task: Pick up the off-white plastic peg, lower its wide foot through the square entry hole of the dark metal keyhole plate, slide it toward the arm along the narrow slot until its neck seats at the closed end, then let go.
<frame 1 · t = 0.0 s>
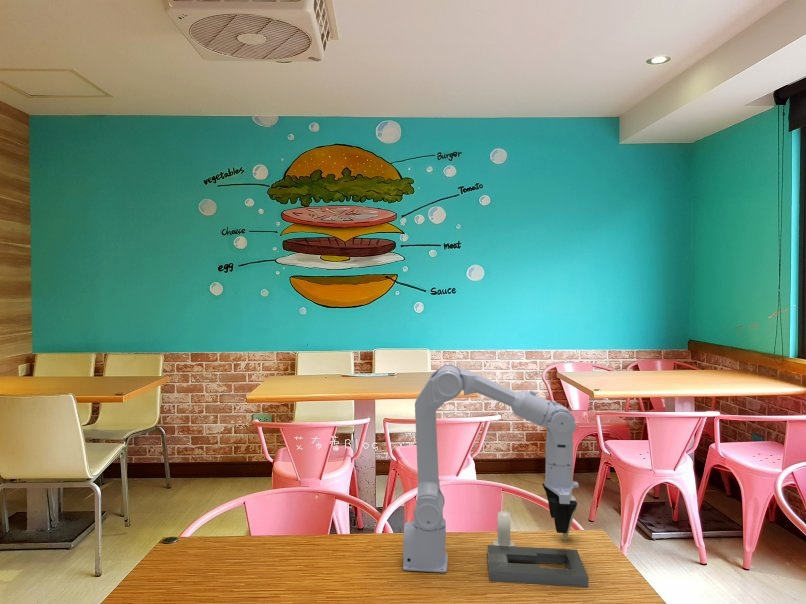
hand: (558, 524, 120), 10 cm above the table, tool pointing down, fingers open, 7 cm apart
keyhole plate: (534, 569, 121), on the table
peg: (503, 547, 132), on the table
ice cream cone: (565, 541, 135), on the table
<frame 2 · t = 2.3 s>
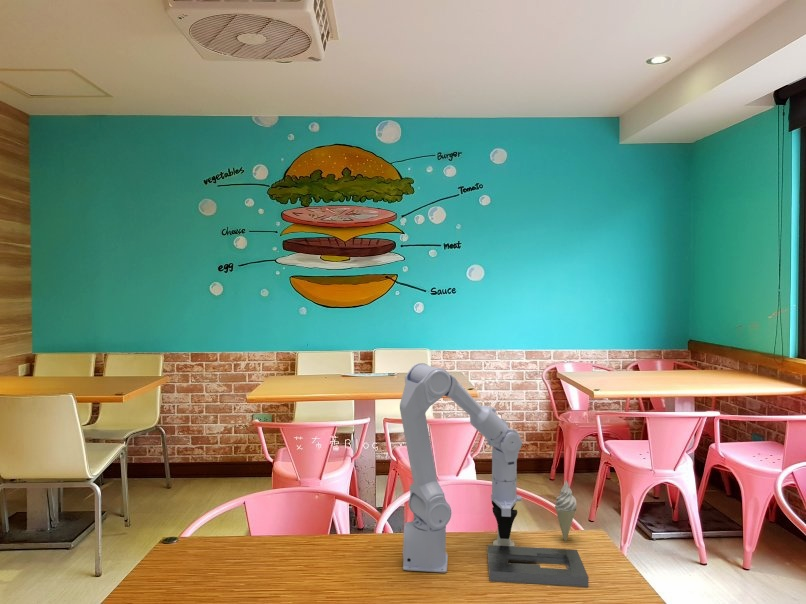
hand: (503, 534, 131), 3 cm above the table, tool pointing down, fingers closed on peg, 3 cm apart
peg: (503, 547, 132), on the table, touching gripper
everything else where it was.
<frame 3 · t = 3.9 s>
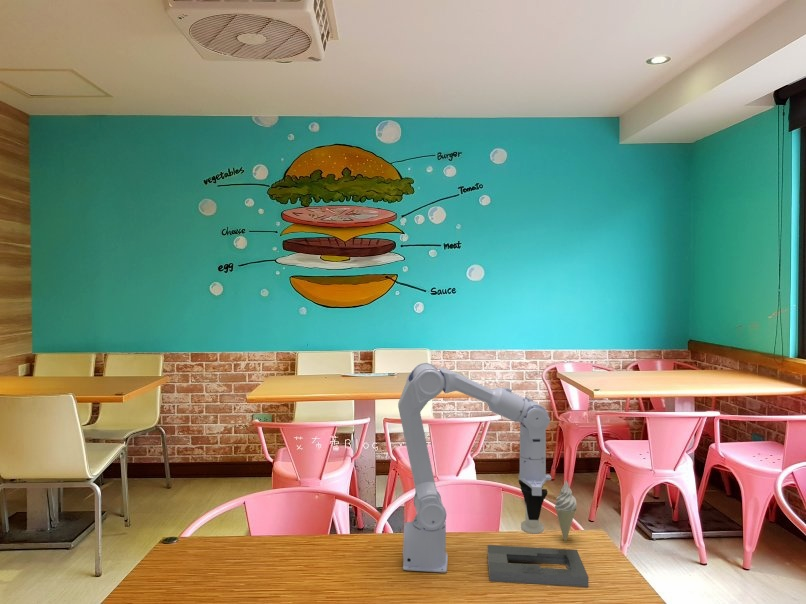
hand: (532, 516, 125), 10 cm above the table, tool pointing down, fingers closed on peg, 3 cm apart
peg: (532, 528, 125), point 7 cm above the table, touching gripper
everything else where it was.
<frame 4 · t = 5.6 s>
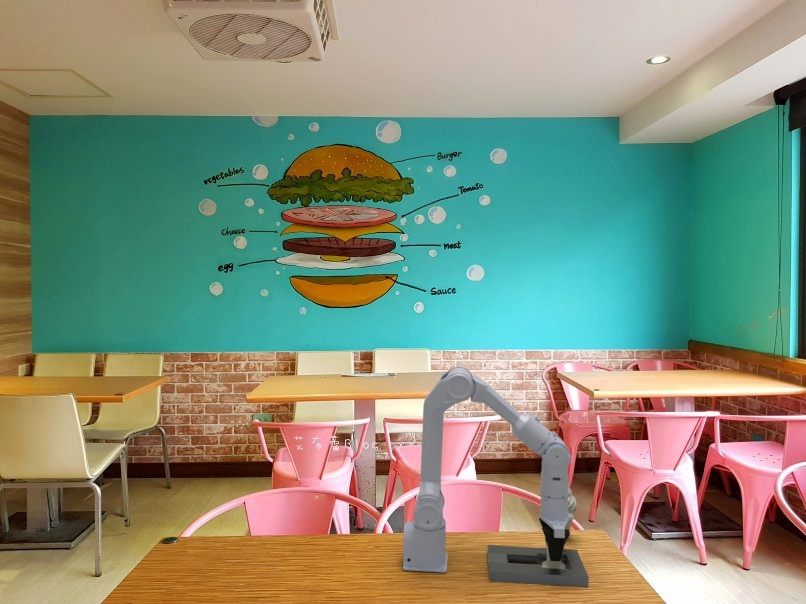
hand: (553, 556, 120), 3 cm above the table, tool pointing down, fingers closed on peg, 3 cm apart
peg: (553, 569, 120), resting in keyhole plate, touching gripper
everything else where it was.
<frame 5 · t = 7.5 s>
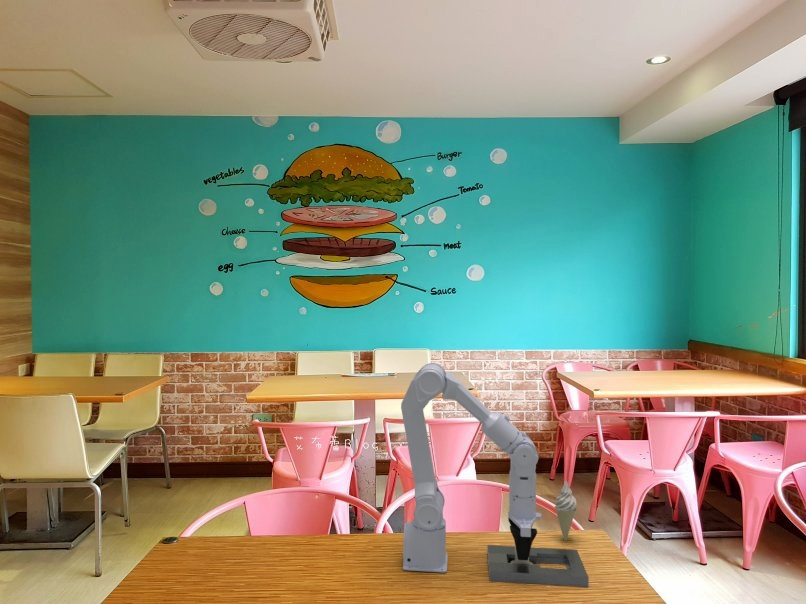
hand: (522, 555, 121), 3 cm above the table, tool pointing down, fingers closed on peg, 3 cm apart
peg: (521, 568, 121), resting in keyhole plate, touching gripper
everything else where it was.
when the fingers open (3 cm above the table, at t = 9.1 s): peg stays where it is, resting in keyhole plate.
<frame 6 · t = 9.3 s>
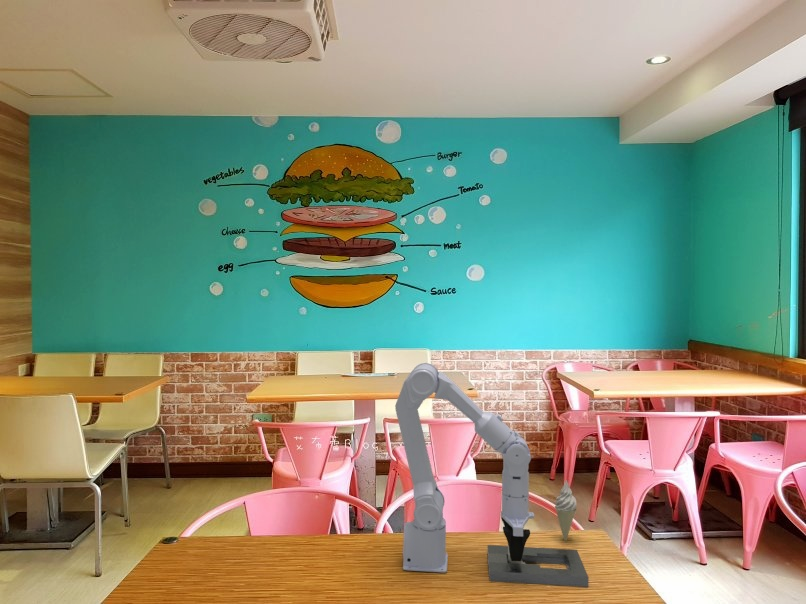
hand: (514, 554, 121), 3 cm above the table, tool pointing down, fingers open, 4 cm apart
peg: (514, 568, 121), resting in keyhole plate
everything else where it was.
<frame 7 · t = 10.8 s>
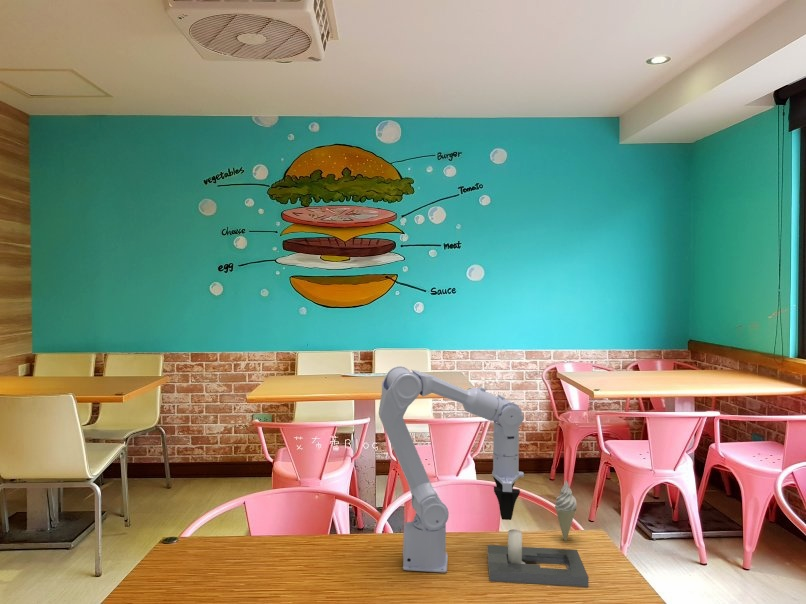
hand: (505, 512, 127), 10 cm above the table, tool pointing down, fingers open, 7 cm apart
nothing on the table moved.
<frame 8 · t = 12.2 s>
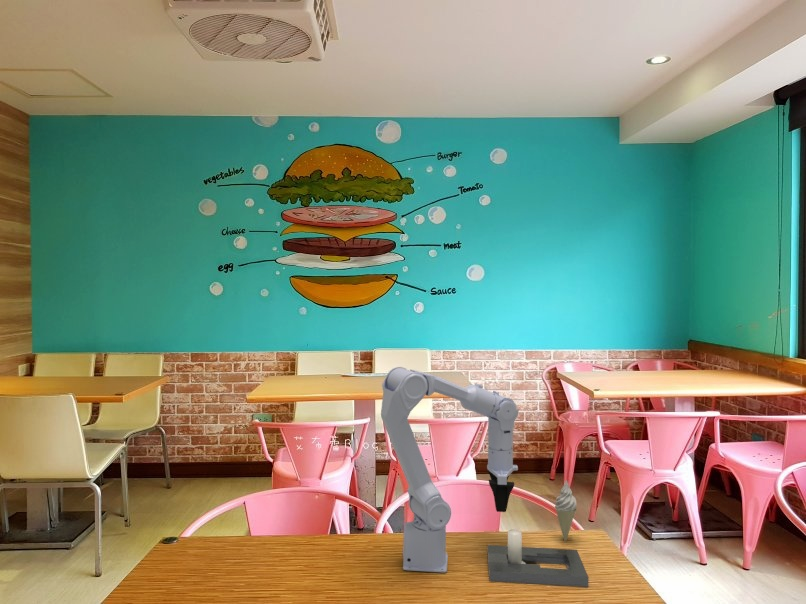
hand: (500, 504, 130), 10 cm above the table, tool pointing down, fingers open, 7 cm apart
nothing on the table moved.
at the end: peg 0.3 cm from the target spot on the keyhole plate, point 0.0 cm above the keyhole plate's base; peg tilted 1°; the gripper is holding nothing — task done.
